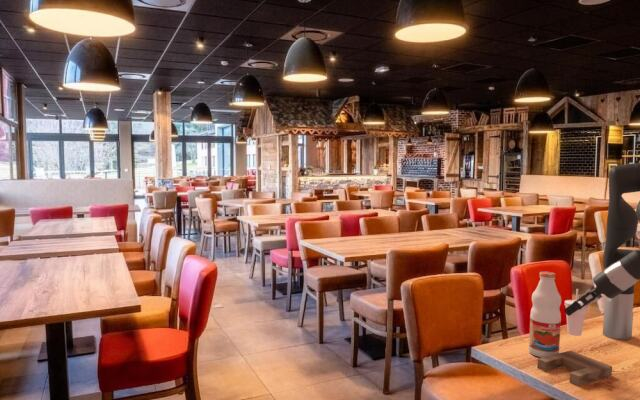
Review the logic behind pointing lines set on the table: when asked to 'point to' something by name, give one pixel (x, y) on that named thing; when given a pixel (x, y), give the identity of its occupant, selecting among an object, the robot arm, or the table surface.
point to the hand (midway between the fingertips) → (569, 310)
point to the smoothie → (575, 318)
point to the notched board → (576, 367)
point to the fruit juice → (545, 317)
